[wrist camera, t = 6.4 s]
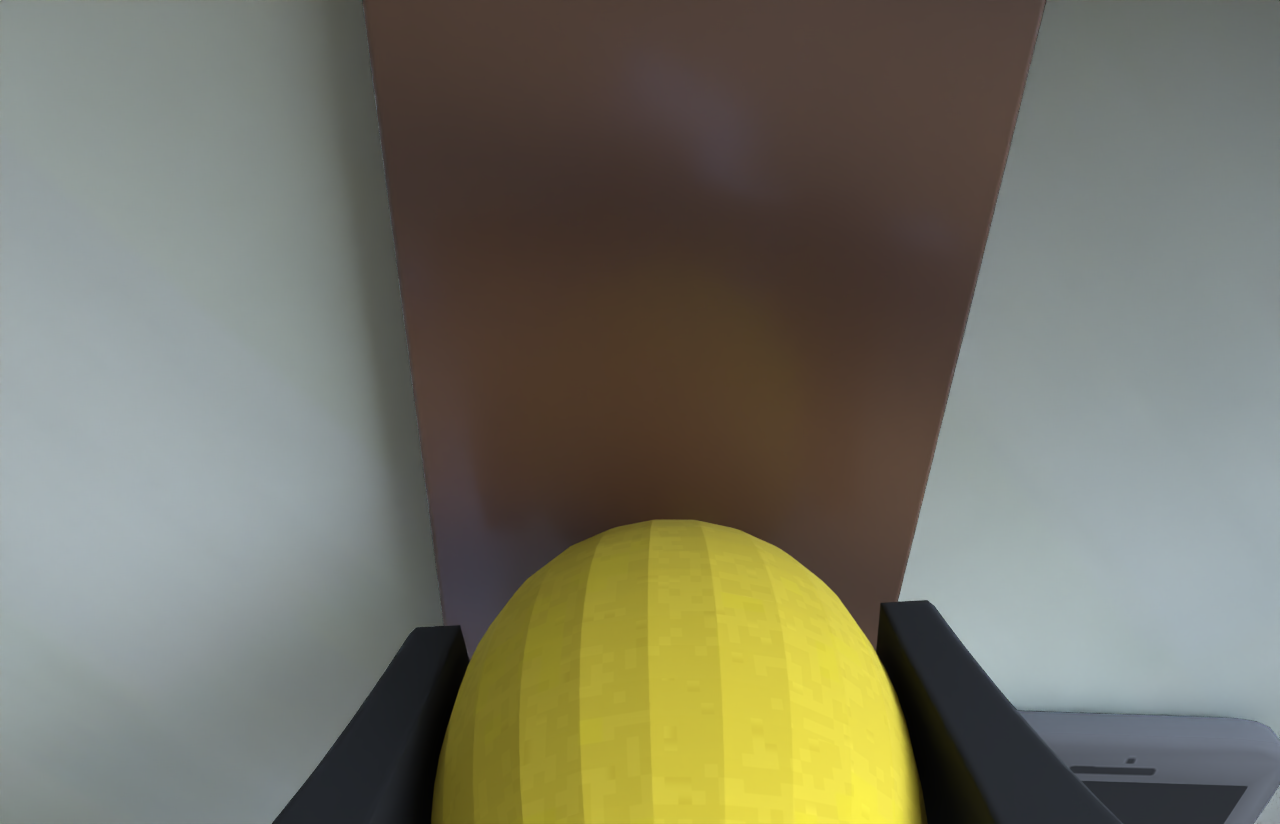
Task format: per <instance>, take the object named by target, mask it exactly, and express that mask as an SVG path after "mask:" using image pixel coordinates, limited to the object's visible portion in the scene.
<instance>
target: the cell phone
mask: <svg viewBox="0 0 1280 824" xmlns="http://www.w3.org/2000/svg"><path fill="white" fill-rule="evenodd" d="M1018 712H1019V713H1020V714H1021V715H1022V717H1023V718H1024V719H1025V720H1026V721H1027V722H1028V723H1029V725H1030V726H1031V727H1032V728H1033V729H1034V730H1035V731H1036V733H1037V734H1038V735H1039V736H1040V737H1041V738H1042V739H1043V740H1044V742H1045V743H1046V744H1047V745H1048V746H1049V747H1050V748H1051V749H1052V750H1053V752H1054V753H1055V754H1056V755H1057V756H1058V757H1059V758H1060V759H1061V760H1062V761H1063V762H1064V763H1065V765H1066V766H1067V767H1068V768H1069V769H1070V770H1071V771H1072V772H1073V773H1074V774H1075V775H1076V776H1077V777H1078V778H1079V779H1080V780H1081V781H1082V782H1083V783H1084V784H1085V785H1086V786H1087V788H1088V789H1089V790H1090V791H1091V792H1092V793H1093V794H1094V795H1095V796H1096V797H1097V798H1098V799H1099V800H1100V801H1101V802H1102V803H1103V804H1104V805H1105V806H1106V807H1107V808H1108V809H1109V810H1110V811H1111V812H1112V813H1113V814H1114V815H1115V816H1116V817H1117V818H1118V819H1119V820H1120V821H1121V822H1122V823H1123V824H1254V823H1255V821H1256V820H1257V818H1258V817H1259V815H1260V814H1261V813H1262V811H1263V810H1264V808H1265V807H1266V805H1267V804H1268V802H1269V801H1270V799H1271V798H1272V796H1273V795H1274V793H1275V792H1276V790H1277V788H1278V787H1279V785H1280V739H1279V738H1278V737H1277V735H1276V734H1275V733H1274V732H1273V731H1272V730H1271V728H1270V727H1268V726H1266V725H1263V724H1261V723H1259V722H1257V721H1251V720H1244V719H1238V718H1222V717H1192V716H1162V715H1132V714H1102V713H1073V712H1043V711H1018Z"/></svg>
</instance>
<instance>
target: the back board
mask: <svg viewBox="0 0 1280 824" xmlns="http://www.w3.org/2000/svg"><path fill="white" fill-rule="evenodd" d="M362 3H363V11H364V18H365V26H366V34H367V41H368V49H369V57H370V65H371V72H372V80H373V88H374V95H375V103H376V111H377V118H378V126H379V134H380V141H381V149H382V157H383V164H384V172H385V180H386V187H387V195H388V203H389V210H390V218H391V226H392V233H393V241H394V249H395V256H396V264H397V272H398V279H399V287H400V295H401V302H402V310H403V318H404V325H405V333H406V341H407V348H408V356H409V364H410V371H411V379H412V387H413V394H414V402H415V410H416V417H417V425H418V433H419V441H420V448H421V456H422V464H423V471H424V479H425V487H426V494H427V502H428V510H429V517H430V525H431V533H432V540H433V548H434V556H435V563H436V571H437V579H438V586H439V594H440V602H441V609H442V617H443V625H444V626H452V625H460V626H461V630H462V634H463V638H464V641H465V645H466V649H467V653H468V657H469V660H471V658H472V656H473V654H474V652H475V650H476V648H477V646H478V644H479V642H480V641H481V639H482V638H483V636H484V634H485V633H486V631H487V630H488V628H489V626H490V625H491V624H492V622H493V621H494V620H495V618H496V617H497V616H498V614H499V613H500V612H501V610H502V609H503V608H504V607H505V605H506V604H507V603H508V601H509V600H510V599H511V597H512V596H513V595H514V593H515V592H516V591H517V590H518V589H519V588H520V587H521V585H522V584H523V583H524V582H525V581H526V580H527V579H528V578H529V577H531V576H532V575H533V574H534V573H536V572H537V571H538V570H540V569H541V568H542V567H544V566H545V565H546V564H548V563H549V562H550V561H552V560H553V559H554V558H556V557H557V556H558V555H560V554H561V553H562V552H564V551H565V550H566V549H568V548H569V547H570V546H572V545H574V544H577V543H579V542H581V541H584V540H586V539H588V538H591V537H593V536H595V535H598V534H600V533H602V532H605V531H607V530H609V529H612V528H615V527H619V526H624V525H629V524H634V523H639V522H644V521H650V520H697V521H702V522H707V523H712V524H717V525H721V526H726V527H731V528H734V529H738V530H741V531H743V532H745V533H747V534H750V535H752V536H754V537H756V538H759V539H761V540H763V541H765V542H767V543H770V544H772V545H774V546H776V547H778V548H780V549H781V550H783V551H784V552H786V553H787V554H789V555H790V556H791V557H793V558H794V559H795V560H797V561H798V562H799V563H800V564H802V565H803V566H804V567H805V568H807V569H808V570H809V571H811V572H812V573H813V574H814V575H816V576H817V577H818V578H819V579H821V580H822V581H823V582H824V583H825V584H826V585H827V586H828V587H829V588H830V589H831V590H832V591H833V592H834V593H835V594H836V595H837V596H838V598H839V599H840V600H841V602H842V603H843V605H844V606H845V607H846V609H847V610H848V612H849V613H850V614H851V616H852V617H853V619H854V620H855V622H856V623H857V624H858V626H859V627H860V629H861V630H862V632H863V633H864V634H865V636H866V637H867V639H868V640H869V642H870V643H871V645H872V646H873V648H874V649H875V651H876V647H877V636H878V625H879V614H880V603H886V602H898V598H899V594H900V590H901V586H902V582H903V578H904V574H905V570H906V566H907V562H908V558H909V554H910V549H911V545H912V541H913V537H914V533H915V529H916V525H917V521H918V517H919V513H920V509H921V505H922V501H923V497H924V493H925V489H926V485H927V481H928V477H929V473H930V469H931V465H932V461H933V457H934V452H935V448H936V444H937V440H938V436H939V432H940V428H941V424H942V420H943V416H944V412H945V408H946V404H947V400H948V396H949V392H950V388H951V384H952V380H953V376H954V372H955V368H956V364H957V360H958V356H959V351H960V347H961V343H962V339H963V335H964V331H965V327H966V323H967V319H968V315H969V311H970V307H971V303H972V299H973V295H974V291H975V287H976V283H977V279H978V275H979V271H980V267H981V263H982V259H983V254H984V250H985V246H986V242H987V238H988V234H989V230H990V226H991V222H992V218H993V214H994V210H995V206H996V202H997V198H998V194H999V190H1000V186H1001V182H1002V178H1003V174H1004V170H1005V166H1006V162H1007V158H1008V153H1009V149H1010V145H1011V141H1012V137H1013V133H1014V129H1015V125H1016V121H1017V117H1018V113H1019V109H1020V105H1021V101H1022V97H1023V93H1024V89H1025V85H1026V81H1027V77H1028V73H1029V69H1030V65H1031V61H1032V56H1033V52H1034V48H1035V44H1036V40H1037V36H1038V32H1039V28H1040V24H1041V20H1042V16H1043V12H1044V8H1045V4H1046V0H362Z"/></svg>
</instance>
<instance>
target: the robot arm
mask: <svg viewBox="0 0 1280 824" xmlns="http://www.w3.org/2000/svg"><path fill="white" fill-rule="evenodd" d="M876 653H877V655H878V656H879V658H880V660H881V662H882V663H883V665H884V667H885V669H886V671H887V673H888V676H889V678H890V680H891V682H892V684H893V687H894V689H895V691H896V693H897V696H898V699H899V702H900V705H901V708H902V711H903V714H904V717H905V720H906V724H907V728H908V732H909V736H910V740H911V744H912V748H913V753H914V757H915V761H916V765H917V769H918V774H919V778H920V782H921V786H922V791H923V797H924V804H925V810H926V816H927V823H928V824H1123V823H1122V822H1121V821H1120V820H1119V819H1118V818H1117V817H1116V816H1115V815H1114V814H1113V813H1112V812H1111V811H1110V810H1109V809H1108V808H1107V807H1106V806H1105V805H1104V804H1103V803H1102V802H1101V801H1100V800H1099V799H1098V798H1097V797H1096V796H1095V795H1094V794H1093V793H1092V792H1091V791H1090V790H1089V789H1088V788H1087V786H1086V785H1085V784H1084V783H1083V782H1082V781H1081V780H1080V779H1079V778H1078V777H1077V776H1076V775H1075V774H1074V773H1073V772H1072V771H1071V770H1070V769H1069V768H1068V767H1067V766H1066V765H1065V763H1064V762H1063V761H1062V760H1061V759H1060V758H1059V757H1058V756H1057V755H1056V754H1055V753H1054V752H1053V750H1052V749H1051V748H1050V747H1049V746H1048V745H1047V744H1046V743H1045V742H1044V740H1043V739H1042V738H1041V737H1040V736H1039V735H1038V734H1037V733H1036V731H1035V730H1034V729H1033V728H1032V727H1031V726H1030V725H1029V723H1028V722H1027V721H1026V720H1025V719H1024V718H1023V717H1022V715H1021V714H1020V713H1019V712H1018V711H1017V710H1016V709H1015V707H1014V706H1013V705H1012V704H1011V703H1010V702H1009V700H1008V699H1007V698H1006V697H1005V696H1004V694H1003V693H1002V692H1001V691H1000V690H999V689H998V687H997V686H996V685H995V684H994V682H993V681H992V680H991V679H990V678H989V676H988V675H987V674H986V673H985V671H984V670H983V669H982V668H981V666H980V665H979V664H978V663H977V661H976V660H975V659H974V658H973V656H972V655H971V654H970V653H969V651H968V650H967V649H966V647H965V646H964V645H963V644H962V642H961V641H960V640H959V638H958V637H957V636H956V634H955V633H954V632H953V630H952V629H951V628H950V626H949V625H948V624H947V622H946V621H945V620H944V618H943V617H942V616H941V614H940V613H939V612H938V610H937V609H936V608H935V606H934V605H932V604H931V603H930V602H929V601H928V600H923V601H905V602H886V603H880V614H879V625H878V636H877V647H876ZM469 662H470V660H469V657H468V653H467V649H466V645H465V641H464V638H463V634H462V630H461V626H460V625H452V626H433V627H416V628H415V629H414V630H413V631H412V632H411V633H410V634H409V636H408V637H407V639H406V640H405V642H404V643H403V645H402V646H401V648H400V649H399V651H398V652H397V654H396V655H395V657H394V658H393V660H392V661H391V663H390V664H389V666H388V667H387V669H386V670H385V672H384V673H383V675H382V676H381V678H380V679H379V681H378V682H377V684H376V685H375V687H374V688H373V690H372V691H371V692H370V694H369V695H368V697H367V698H366V700H365V701H364V703H363V704H362V705H361V707H360V708H359V710H358V711H357V713H356V714H355V715H354V717H353V718H352V720H351V721H350V722H349V724H348V725H347V726H346V728H345V729H344V731H343V732H342V733H341V735H340V736H339V737H338V739H337V740H336V742H335V743H334V744H333V746H332V747H331V748H330V750H329V751H328V752H327V754H326V755H325V757H324V758H323V759H322V761H321V762H320V763H319V765H318V766H317V767H316V769H315V770H314V771H313V773H312V774H311V775H310V776H309V778H308V779H307V780H306V782H305V783H304V784H303V785H302V787H301V788H300V789H299V790H298V792H297V793H296V794H295V795H294V796H293V798H292V799H291V800H290V801H289V803H288V804H287V805H286V806H285V808H284V809H283V810H282V811H281V813H280V814H279V815H278V816H277V818H276V819H275V820H274V821H273V823H272V824H431V814H432V803H433V793H434V784H435V778H436V772H437V766H438V761H439V755H440V752H441V748H442V744H443V740H444V736H445V733H446V729H447V726H448V723H449V720H450V716H451V713H452V710H453V707H454V704H455V701H456V698H457V695H458V691H459V689H460V686H461V683H462V680H463V678H464V675H465V672H466V669H467V667H468V665H469Z"/></svg>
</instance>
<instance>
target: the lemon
mask: <svg viewBox="0 0 1280 824" xmlns="http://www.w3.org/2000/svg"><path fill="white" fill-rule="evenodd" d="M431 824H928V823H927V816H926V810H925V804H924V797H923V791H922V786H921V782H920V778H919V774H918V769H917V765H916V761H915V757H914V753H913V748H912V744H911V740H910V736H909V732H908V728H907V724H906V720H905V717H904V714H903V711H902V708H901V705H900V702H899V699H898V696H897V693H896V691H895V689H894V687H893V684H892V682H891V680H890V678H889V676H888V673H887V671H886V669H885V667H884V665H883V663H882V662H881V660H880V658H879V656H878V655H877V653H876V651H875V649H874V648H873V646H872V645H871V643H870V642H869V640H868V639H867V637H866V636H865V634H864V633H863V632H862V630H861V629H860V627H859V626H858V624H857V623H856V622H855V620H854V619H853V617H852V616H851V614H850V613H849V612H848V610H847V609H846V607H845V606H844V605H843V603H842V602H841V600H840V599H839V598H838V596H837V595H836V594H835V593H834V592H833V591H832V590H831V589H830V588H829V587H828V586H827V585H826V584H825V583H824V582H823V581H822V580H821V579H819V578H818V577H817V576H816V575H814V574H813V573H812V572H811V571H809V570H808V569H807V568H805V567H804V566H803V565H802V564H800V563H799V562H798V561H797V560H795V559H794V558H793V557H791V556H790V555H789V554H787V553H786V552H784V551H783V550H781V549H780V548H778V547H776V546H774V545H772V544H770V543H767V542H765V541H763V540H761V539H759V538H756V537H754V536H752V535H750V534H747V533H745V532H743V531H741V530H738V529H734V528H731V527H726V526H721V525H717V524H712V523H707V522H702V521H697V520H650V521H644V522H639V523H634V524H629V525H624V526H619V527H615V528H612V529H609V530H607V531H605V532H602V533H600V534H598V535H595V536H593V537H591V538H588V539H586V540H584V541H581V542H579V543H577V544H574V545H572V546H570V547H569V548H568V549H566V550H565V551H564V552H562V553H561V554H560V555H558V556H557V557H556V558H554V559H553V560H552V561H550V562H549V563H548V564H546V565H545V566H544V567H542V568H541V569H540V570H538V571H537V572H536V573H534V574H533V575H532V576H531V577H529V578H528V579H527V580H526V581H525V582H524V583H523V584H522V585H521V587H520V588H519V589H518V590H517V591H516V592H515V593H514V595H513V596H512V597H511V599H510V600H509V601H508V603H507V604H506V605H505V607H504V608H503V609H502V610H501V612H500V613H499V614H498V616H497V617H496V618H495V620H494V621H493V622H492V624H491V625H490V626H489V628H488V630H487V631H486V633H485V634H484V636H483V638H482V639H481V641H480V642H479V644H478V646H477V648H476V650H475V652H474V654H473V656H472V658H471V660H470V662H469V665H468V667H467V669H466V672H465V675H464V678H463V680H462V683H461V686H460V689H459V691H458V695H457V698H456V701H455V704H454V707H453V710H452V713H451V716H450V720H449V723H448V726H447V729H446V733H445V736H444V740H443V744H442V748H441V752H440V755H439V761H438V766H437V772H436V778H435V784H434V793H433V803H432V814H431Z"/></svg>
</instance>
